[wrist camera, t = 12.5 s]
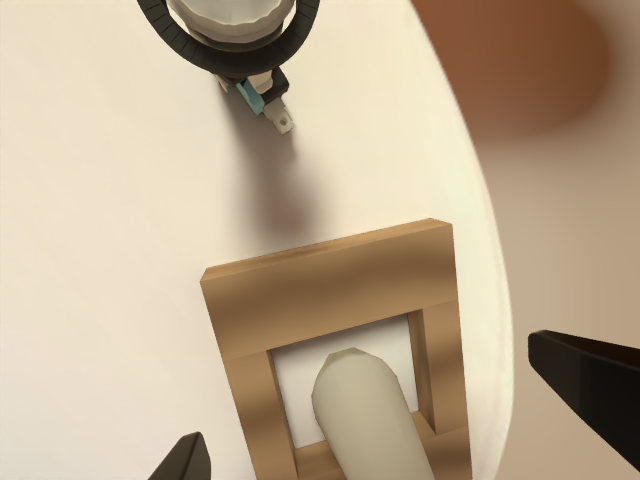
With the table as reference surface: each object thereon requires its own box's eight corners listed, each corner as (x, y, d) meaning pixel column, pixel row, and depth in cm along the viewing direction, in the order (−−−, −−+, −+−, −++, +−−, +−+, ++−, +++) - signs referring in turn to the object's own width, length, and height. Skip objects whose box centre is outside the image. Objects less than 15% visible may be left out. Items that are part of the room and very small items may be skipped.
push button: (322, 108, 19) (388, 39, 9) (248, 159, 19) (237, 145, 9) (253, -4, 17) (247, -238, 7) (171, 52, 17) (52, -114, 7)
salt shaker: (387, 334, 23) (544, 531, 10) (381, 404, 24) (515, 657, 11) (307, 339, 22) (374, 567, 9) (304, 412, 23) (360, 702, 10)
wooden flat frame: (453, 451, 26) (472, 479, 24) (275, 512, 24) (277, 549, 22) (430, 218, 21) (452, 223, 19) (206, 268, 19) (199, 281, 17)
